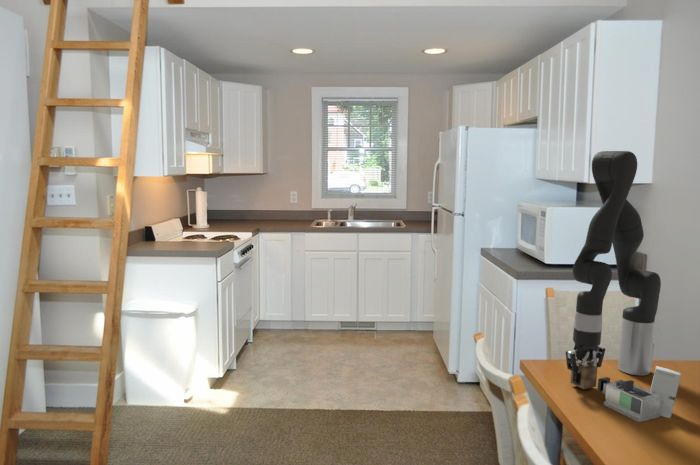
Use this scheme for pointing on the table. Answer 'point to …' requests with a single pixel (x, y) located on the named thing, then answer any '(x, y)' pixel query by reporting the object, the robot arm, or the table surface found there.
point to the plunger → (604, 381)
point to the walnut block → (587, 376)
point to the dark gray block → (628, 385)
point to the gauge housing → (633, 402)
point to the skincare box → (665, 389)
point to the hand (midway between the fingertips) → (583, 382)
